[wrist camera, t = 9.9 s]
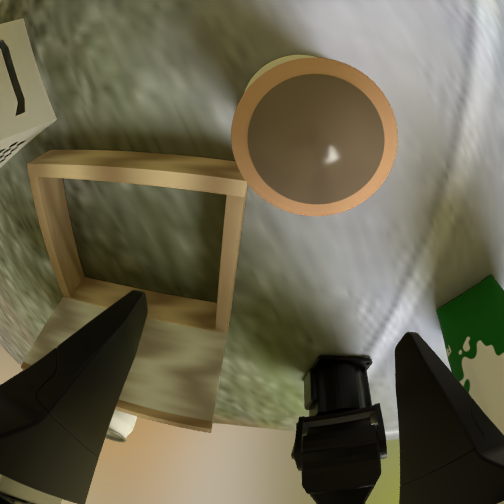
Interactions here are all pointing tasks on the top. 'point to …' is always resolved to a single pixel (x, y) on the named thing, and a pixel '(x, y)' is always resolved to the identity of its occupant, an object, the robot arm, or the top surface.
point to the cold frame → (159, 304)
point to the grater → (36, 100)
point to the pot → (314, 136)
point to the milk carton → (478, 345)
